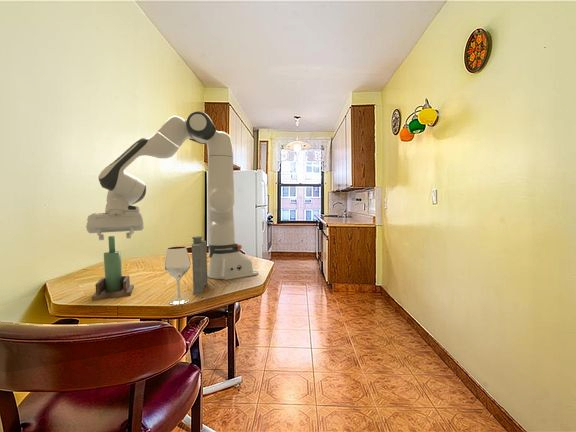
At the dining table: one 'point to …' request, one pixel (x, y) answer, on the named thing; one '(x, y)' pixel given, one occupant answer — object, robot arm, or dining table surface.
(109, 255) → the bottle
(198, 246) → the hip flask
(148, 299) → the dining table surface
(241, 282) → the dining table surface
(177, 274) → the wineglass
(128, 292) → the u rest
